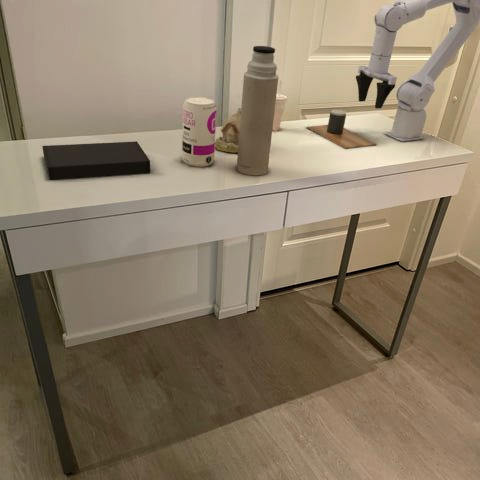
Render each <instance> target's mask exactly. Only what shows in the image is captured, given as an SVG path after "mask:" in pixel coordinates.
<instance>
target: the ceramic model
mask: <svg viewBox="0 0 480 480" xmlns="http://www.w3.org/2000/svg"><path fill="white" fill-rule="evenodd" d="M240 119H241V107H239V108H237V111H236V112H235V113H233V114H232V116H231V117H230V118H228V120H226V121H225V123H224V124H223V125H222V127H221V128H220V132H221V134H222V135H221V136H219V137H217V138H215V148H216V150H218V151H222V152H226V153H238V145H239V132H240Z"/></svg>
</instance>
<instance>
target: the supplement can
mask: <svg viewBox="0 0 480 480" xmlns="http://www.w3.org/2000/svg"><path fill="white" fill-rule="evenodd" d="M217 108H218V107H217V106H216V103H215V100H214V99H212V98H210V97H206V96H189V97H186V98H185V101H184V102H183V104H182V138H181V139H182V140H181V143H182V147H181V150H182V151H181V152H182V153H181V157H182V158H181V159H182V161H184V163H185V164H186V165H188V166H191V167H197V168H199V167H201V168H202V167H208V166H210V165H211V164H212V163H214V161H215V152H216V151H215V148H216V145H215V141H216V130H217V129H216V128H217Z"/></svg>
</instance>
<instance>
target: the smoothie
mask: <svg viewBox="0 0 480 480" xmlns="http://www.w3.org/2000/svg"><path fill="white" fill-rule="evenodd" d="M281 89H282V80H279V82H278V90H277V95H276V103H275V112H274V121H273V129H272V132H277V131H279V130H280V127H281V123H282V120H283V119H282V118H283V115H284V111H285V107H286V102H287V101H288V96H286V95H284V94H281Z"/></svg>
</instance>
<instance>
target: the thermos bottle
mask: <svg viewBox="0 0 480 480" xmlns="http://www.w3.org/2000/svg"><path fill="white" fill-rule="evenodd" d="M252 52H253V53H252V54H251V55H252V56H251V60H249V61H248V62H247V66H246V69H247V71H245V72H244V73H243V81H242V94H241V105H240V108H241V119H240V132H239V145H238V152H237V158H236V159H237V160H236V170H237V171H238V172H239V173H241V174H243V175H248V176H262V175H265V174H267V173H268V172H269V162H270V154H271V146H272V137H273V136H272V135H273V131H272V129H273V121H274V112H275V103H276V95H277V94H278V87H279V74H277V70H278V68H277V67H278V66H277V65H278V64H276V63H275V53H276V48H274V47H271V46H266V45H255V46H254V45H253V47H252Z"/></svg>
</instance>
